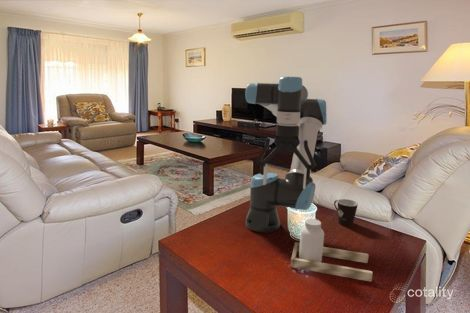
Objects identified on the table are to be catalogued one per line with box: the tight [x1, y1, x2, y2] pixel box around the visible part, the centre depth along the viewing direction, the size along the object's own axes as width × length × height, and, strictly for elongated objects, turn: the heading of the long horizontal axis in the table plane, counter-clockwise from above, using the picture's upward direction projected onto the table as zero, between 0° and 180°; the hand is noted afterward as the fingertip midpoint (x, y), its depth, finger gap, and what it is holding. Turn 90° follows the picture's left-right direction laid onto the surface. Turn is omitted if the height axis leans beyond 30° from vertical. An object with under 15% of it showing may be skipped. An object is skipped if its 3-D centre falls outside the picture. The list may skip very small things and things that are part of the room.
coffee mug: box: [333, 198, 359, 227], centre depth 142 cm, size 12×9×10 cm
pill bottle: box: [298, 218, 325, 263], centre depth 109 cm, size 8×8×15 cm
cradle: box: [290, 241, 373, 283], centre depth 108 cm, size 26×12×3 cm, turn 73°
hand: (284, 185), depth 108 cm, fingers open, 13 cm apart
